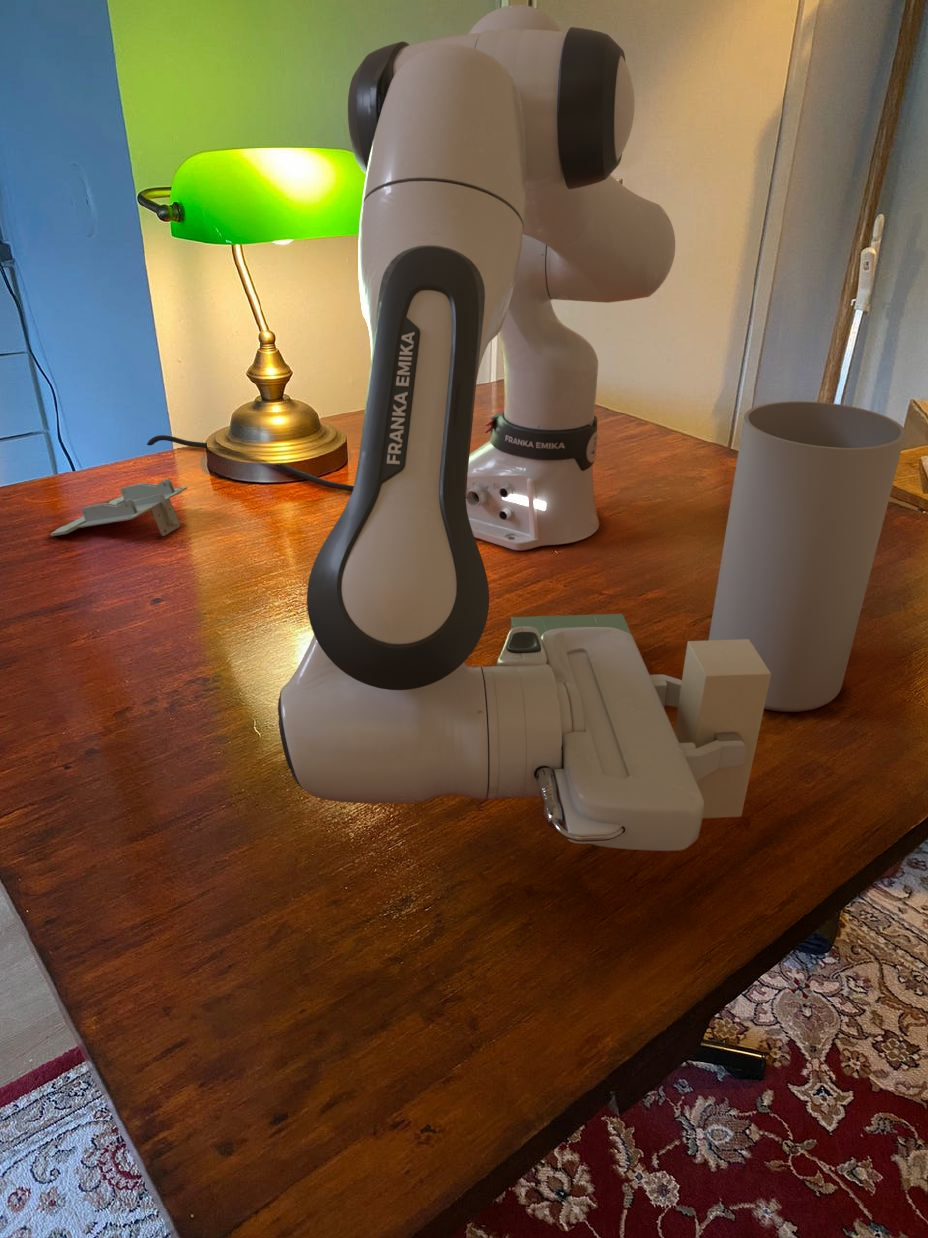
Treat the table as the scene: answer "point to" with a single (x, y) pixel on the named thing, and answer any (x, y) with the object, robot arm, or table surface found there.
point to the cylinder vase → (804, 541)
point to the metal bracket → (132, 508)
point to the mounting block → (571, 622)
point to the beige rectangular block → (722, 713)
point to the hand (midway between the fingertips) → (729, 722)
